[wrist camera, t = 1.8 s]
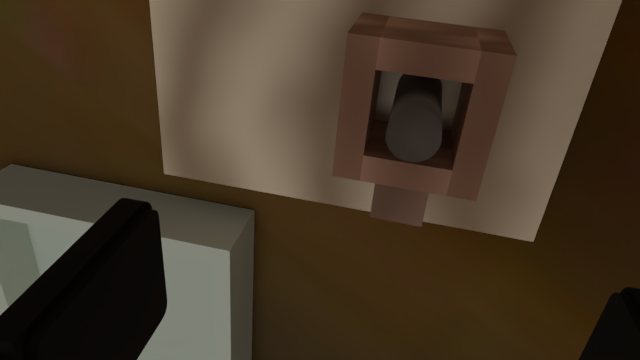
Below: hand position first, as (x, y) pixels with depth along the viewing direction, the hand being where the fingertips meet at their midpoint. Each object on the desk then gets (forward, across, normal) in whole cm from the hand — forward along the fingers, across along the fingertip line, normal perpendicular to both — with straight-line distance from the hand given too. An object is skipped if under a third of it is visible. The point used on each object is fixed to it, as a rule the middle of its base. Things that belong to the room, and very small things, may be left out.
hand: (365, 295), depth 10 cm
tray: (+16, +15, +17) cm, 28 cm away
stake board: (+15, +2, 0) cm, 15 cm away
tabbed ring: (+14, -1, +1) cm, 14 cm away
